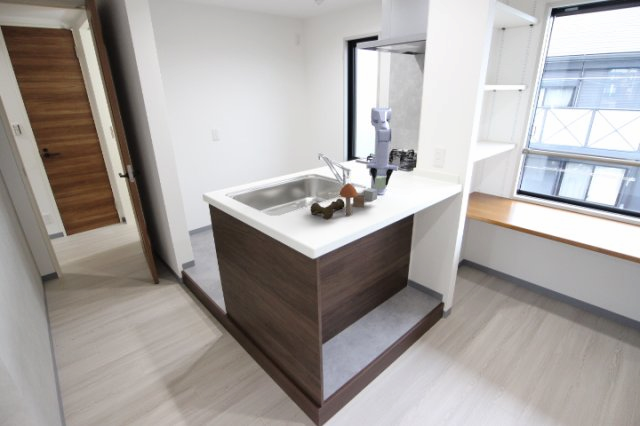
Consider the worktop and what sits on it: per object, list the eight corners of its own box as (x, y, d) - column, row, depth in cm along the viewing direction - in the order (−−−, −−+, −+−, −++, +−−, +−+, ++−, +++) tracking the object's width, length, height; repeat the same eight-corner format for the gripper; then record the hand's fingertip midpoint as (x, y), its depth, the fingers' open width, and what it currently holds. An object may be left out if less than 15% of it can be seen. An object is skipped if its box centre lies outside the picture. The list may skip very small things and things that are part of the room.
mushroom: (342, 219, 139) (343, 186, 133) (336, 213, 146) (336, 181, 140) (359, 217, 141) (360, 184, 135) (353, 211, 148) (353, 179, 142)
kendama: (349, 211, 149) (319, 223, 135) (333, 207, 155) (304, 218, 141) (349, 199, 147) (319, 210, 133) (333, 195, 153) (303, 205, 139)
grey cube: (368, 197, 166) (368, 187, 165) (376, 198, 164) (377, 189, 162) (363, 199, 163) (363, 190, 161) (372, 201, 160) (372, 192, 158)
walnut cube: (354, 203, 158) (354, 193, 156) (364, 204, 157) (364, 194, 155) (352, 206, 153) (353, 197, 151) (363, 207, 152) (363, 197, 150)
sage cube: (376, 185, 157) (377, 175, 155) (386, 186, 155) (387, 176, 153) (374, 188, 152) (374, 178, 150) (384, 189, 151) (385, 179, 149)
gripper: (365, 156, 147) (364, 184, 152) (396, 158, 142) (394, 187, 147) (368, 153, 153) (367, 181, 158) (399, 155, 148) (397, 183, 153)
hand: (380, 184), depth 153 cm, fingers closed on sage cube, 5 cm apart
